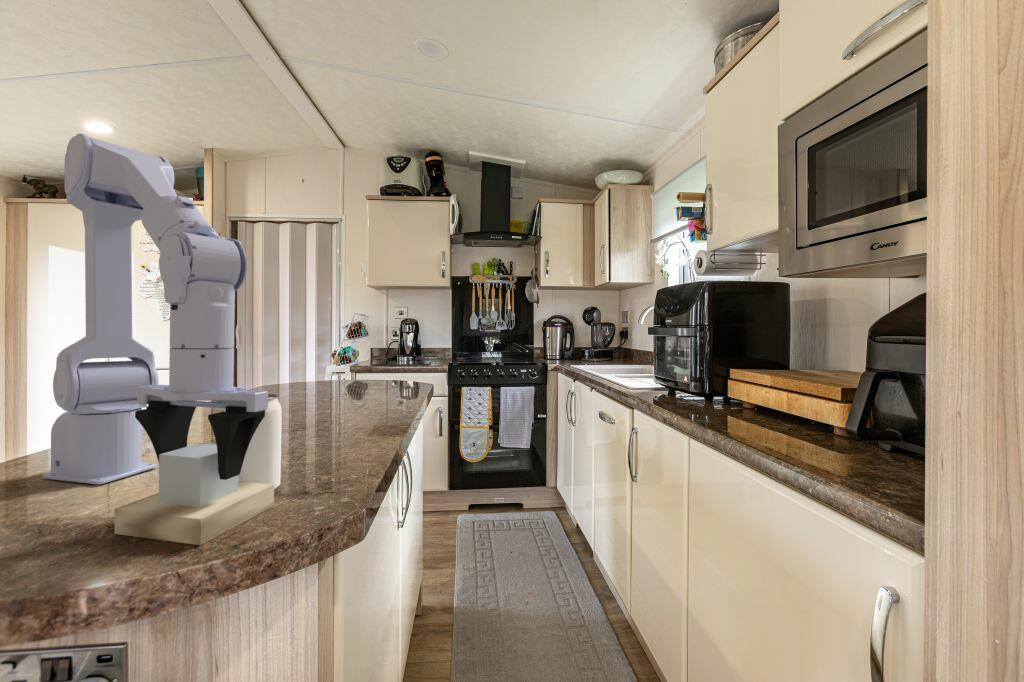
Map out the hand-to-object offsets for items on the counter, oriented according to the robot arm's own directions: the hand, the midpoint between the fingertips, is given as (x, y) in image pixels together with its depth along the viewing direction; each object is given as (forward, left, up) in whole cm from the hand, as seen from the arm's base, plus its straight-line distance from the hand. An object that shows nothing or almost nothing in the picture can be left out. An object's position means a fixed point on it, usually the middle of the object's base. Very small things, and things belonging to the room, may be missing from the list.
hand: (201, 473), depth 49 cm
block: (0, 0, -2) cm, 2 cm away
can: (-1, +9, -5) cm, 10 cm away
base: (0, 0, -5) cm, 5 cm away
